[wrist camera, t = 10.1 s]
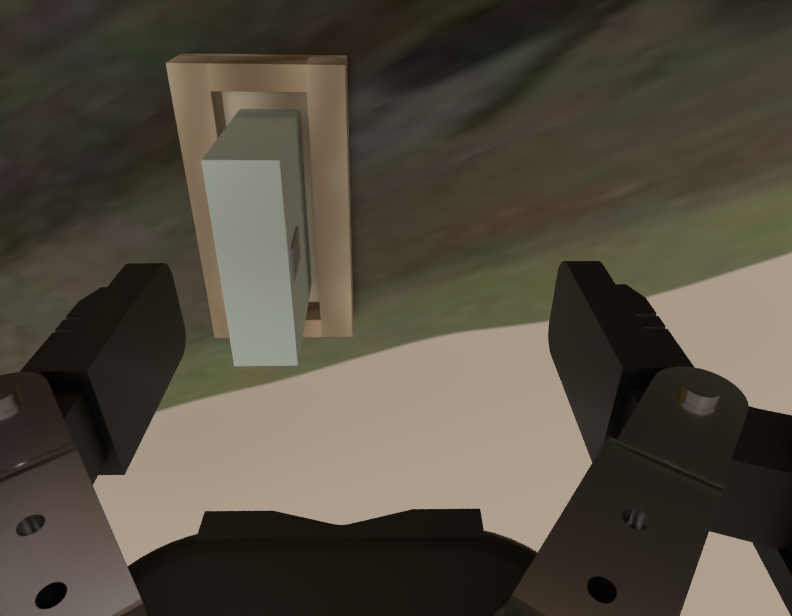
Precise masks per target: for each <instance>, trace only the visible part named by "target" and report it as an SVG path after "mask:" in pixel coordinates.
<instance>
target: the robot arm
mask: <svg viewBox="0 0 792 616" xmlns="http://www.w3.org/2000/svg"><path fill="white" fill-rule="evenodd" d="M55 331H56V332H55V333H52V334H51V335H50V336H49V338H48V339H47V340H46V341H45V342H44V344H43V345H42V346H41V347H40V348H39V349H38V351H37V352H36V353H35V354H34V355H33V357H32V358H31V359H30V360H29V361H28V362H27V364H26V365H25V366H24V367H23V368H22V370H21V371H20V372H14V373H8V374H3V375H0V616H680V613H681V610H682V607H683V605H684V602H685V599H686V596H687V593H688V590H689V587H690V584H691V581H692V579H693V575H694V573H695V570H696V567H697V564H698V561H699V558H700V556H701V553H702V550H703V547H704V544H705V541H706V538H707V535H708V532H709V531H711V532H715V533H719V534H722V535H727V536H730V537H734V538H738V539H742V540H746V541H750V542H753V545H754V547H755V548H756V550H757V552H758V554H759V556H760V558H761V560H762V562H763V564H764V566H765V567H766V569H767V571H768V573H769V575H770V577H771V579H772V581H773V583H774V585H775V586H776V588H777V590H778V592H779V594H780V596H781V598H782V600H783V602H784V604H785V605H786V607H787V609H788V611H789V613H790V615H791V616H792V416H791V415H786V414H781V413H777V412H771V411H767V410H762V409H757V408H753V407H750V406H748V401H747V399H746V397H745V396H744V394H743V393H742V392H741V391H740V390H739V388H737V387H736V386H735V385H734V384H733V383H731V382H730V381H728V380H727V379H725V378H723V377H721V376H719V375H717V374H715V373H712V372H709V371H706V370H703V369H699V368H694V366H693V365H692V363H691V362H690V360H689V359H688V358H687V356H686V355H685V353H684V352H683V350H682V349H681V348H680V346H679V345H678V343H677V342H676V341H675V339H674V338H673V336H672V335H671V333H670V332H669V331H668V329H665V325H664V323H663V322H662V321H661V319H660V318H659V316H656V312H655V311H654V309H653V308H652V306H651V305H650V304H649V302H648V301H647V299H646V298H645V297H644V296H642V295H641V294H639V293H638V292H636V291H635V290H633V289H632V288H630V287H629V286H627V285H626V284H621V285H616V284H615V283H614V281H613V280H612V278H611V276H610V275H609V273H608V272H607V270H606V269H605V267H604V266H603V264H602V263H601V262H600V261H563V262H562V263H561V264H560V266H559V269H558V273H557V279H556V285H555V291H554V297H553V303H552V309H551V315H550V321H549V330H548V331H549V332H548V339H549V348H550V353H551V356H552V358H553V361H554V364H555V366H556V369H557V371H558V374H559V377H560V379H561V381H562V384H563V387H564V390H565V392H566V395H567V398H568V400H569V403H570V405H571V408H572V411H573V413H574V416H575V418H576V421H577V424H578V426H579V429H580V432H581V434H582V437H583V440H584V442H585V445H586V447H587V450H588V452H589V455H590V458H591V460H592V465H591V466H590V468H589V470H588V471H587V473H586V474H585V476H584V478H583V479H582V481H581V483H580V484H579V486H578V488H577V489H576V491H575V492H574V494H573V496H572V497H571V499H570V501H569V503H568V504H567V506H566V507H565V509H564V511H563V512H562V514H561V516H560V517H559V519H558V521H557V522H556V524H555V525H554V527H553V529H552V530H551V532H550V533H549V535H548V537H547V538H546V540H545V542H544V543H543V545H542V547H541V548H540V550H539V551H538V553H537V552H536V551H534V550H532V549H531V548H529V547H527V546H525V545H523V544H521V543H519V542H517V541H515V540H512V539H510V538H507V537H504V536H501V535H499V534H496V533H492V532H487V531H483V524H482V518H481V512H480V509H412V510H408V511H404V512H400V513H395V514H391V515H387V516H382V517H378V518H374V519H370V520H366V521H361V522H357V523H352V524H348V525H335V524H330V523H325V522H320V521H316V520H312V519H307V518H303V517H298V516H294V515H289V514H285V513H280V512H276V511H206V512H205V513H204V516H203V519H202V523H201V525H200V529H199V532H198V534H196V535H193V536H189V537H186V538H183V539H180V540H177V541H174V542H171V543H169V544H167V545H165V546H162V547H160V548H158V549H156V550H154V551H152V552H150V553H149V554H147V555H145V556H143V557H142V558H140V559H138V560H137V561H135V562H134V563H132V564H131V565H129V566H128V567H127V564H126V562H125V560H124V558H123V555H122V553H121V550H120V548H119V546H118V543H117V541H116V539H115V536H114V534H113V532H112V529H111V527H110V525H109V523H108V520H107V518H106V515H105V513H104V511H103V508H102V506H101V504H100V502H99V499H98V497H97V494H96V492H95V490H94V487H93V484H94V482H95V480H96V478H97V476H98V475H125V473H126V471H127V468H128V467H129V465H130V463H131V461H132V459H133V457H134V455H135V453H136V450H137V448H138V446H139V444H140V442H141V440H142V438H143V436H144V434H145V432H146V430H147V428H148V426H149V424H150V422H151V420H152V418H153V416H154V414H155V412H156V410H157V408H158V406H159V404H160V402H161V399H162V397H163V395H164V393H165V391H166V389H167V387H168V385H169V383H170V381H171V379H172V377H173V375H174V373H175V371H176V369H177V367H178V365H179V363H180V361H181V359H182V356H183V354H184V350H185V342H186V334H185V326H184V322H183V318H182V313H181V309H180V305H179V301H178V297H177V292H176V288H175V284H174V280H173V276H172V272H171V270H170V268H169V266H168V265H167V264H165V263H142V264H126V265H125V266H124V267H123V268H122V269H121V271H120V272H119V273H118V274H117V276H116V277H115V278H114V279H113V281H112V282H111V283H110V284H109V286H108V287H101V288H99V289H98V290H96V291H95V292H93V293H91V294H90V295H88V296H87V297H85V298H83V299H82V300H80V301H79V302H78V303H77V304H76V306H75V307H74V308H73V309H72V310H71V312H70V313H69V314H68V315H67V316H66V320H63V321H62V322H61V323H60V325H59V326H58V327H57V328H56V329H55Z"/></svg>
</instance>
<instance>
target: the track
mask: <svg viewBox="0 0 792 616" xmlns="http://www.w3.org/2000/svg"><path fill="white" fill-rule="evenodd" d="M166 67H167V73H168V78H169V84H170V90H171V95H172V101H173V106H174V112H175V118H176V123H177V129H178V134H179V140H180V146H181V151H182V157H183V162H184V168H185V174H186V179H187V185H188V190H189V196H190V202H191V207H192V213H193V218H194V224H195V230H196V235H197V241H198V246H199V252H200V258H201V263H202V269H203V274H204V280H205V286H206V291H207V297H208V302H209V308H210V314H211V319H212V325H213V330H214V336H215V338H230V336H229V330H228V324H227V318H226V312H225V305H224V299H223V293H222V287H221V281H220V274H219V268H218V262H217V256H216V250H215V243H214V237H213V231H212V225H211V219H210V212H209V206H208V200H207V194H206V188H205V181H204V175H203V169H202V163H201V159H202V158H203V157H204V155H205V154H206V153H207V151H208V150H209V149H210V148H211V146H212V145H213V144H214V142H215V141H216V140H217V138H218V137H219V136H220V134H221V133H222V132H223V130H224V129H225V128H226V127H227V125H228V124H229V123H230V121H231V120H232V119H233V117H234V116H235V115H236V113H237V112H238V111H239V109H298V110H300V114H301V129H302V144H303V159H304V174H305V189H306V204H307V219H308V234H309V249H310V264H311V279H312V284H311V290H310V296H309V302H308V308H307V314H306V320H305V326H304V332H303V337H352V333H353V277H352V237H351V198H350V158H349V118H348V78H347V55H274V54H194V53H181V54H180V55H178V56H176V57H175V58H173V59H171V60H170V61H168V62H166Z"/></svg>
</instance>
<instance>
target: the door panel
mask: <svg viewBox="0 0 792 616" xmlns="http://www.w3.org/2000/svg"><path fill="white" fill-rule="evenodd" d="M201 163H202V169H203V175H204V181H205V188H206V194H207V200H208V206H209V212H210V219H211V225H212V231H213V237H214V243H215V250H216V256H217V262H218V268H219V274H220V281H221V287H222V293H223V299H224V305H225V312H226V318H227V324H228V330H229V336H230V343H231V349H232V355H233V361H234V366H298V361H299V355H300V350H301V344H302V338H303V332H304V326H305V320H306V314H307V308H308V302H309V296H310V290H311V284H312V279H311V264H310V249H309V234H308V219H307V204H306V189H305V174H304V159H303V144H302V129H301V114H300V110H298V109H239V111H238V112H237V113H236V115H235V116H234V117H233V119H232V120H231V121H230V123H229V124H228V125H227V127H226V128H225V129H224V130H223V132H222V133H221V134H220V136H219V137H218V138H217V140H216V141H215V142H214V144H213V145H212V146H211V148H210V149H209V150H208V151H207V153H206V154H205V155H204V157H203V158H202V159H201Z"/></svg>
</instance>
